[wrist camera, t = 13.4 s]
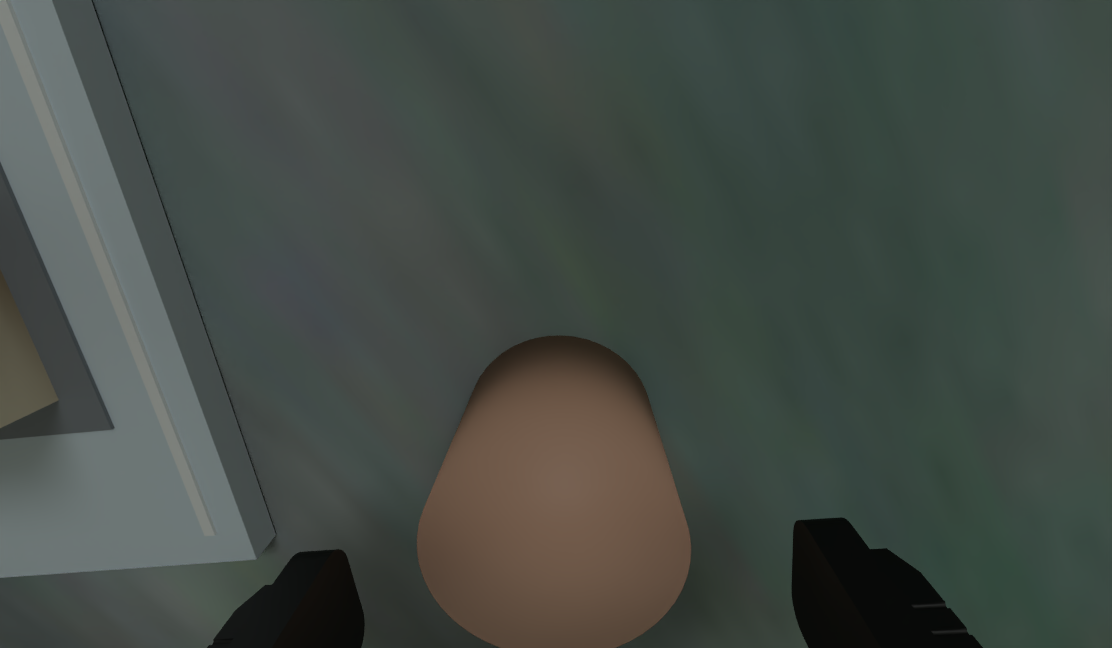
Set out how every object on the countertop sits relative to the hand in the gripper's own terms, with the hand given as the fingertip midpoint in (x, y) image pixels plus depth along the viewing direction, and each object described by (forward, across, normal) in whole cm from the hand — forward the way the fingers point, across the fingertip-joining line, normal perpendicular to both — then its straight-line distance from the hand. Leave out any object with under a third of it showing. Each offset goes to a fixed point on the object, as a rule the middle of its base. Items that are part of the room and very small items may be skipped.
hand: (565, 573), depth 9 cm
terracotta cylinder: (+5, 0, 0) cm, 5 cm away
